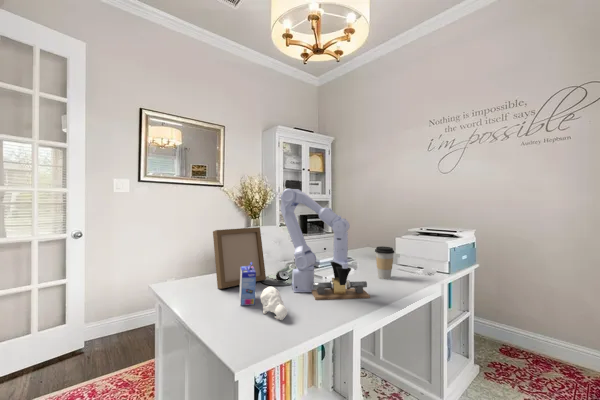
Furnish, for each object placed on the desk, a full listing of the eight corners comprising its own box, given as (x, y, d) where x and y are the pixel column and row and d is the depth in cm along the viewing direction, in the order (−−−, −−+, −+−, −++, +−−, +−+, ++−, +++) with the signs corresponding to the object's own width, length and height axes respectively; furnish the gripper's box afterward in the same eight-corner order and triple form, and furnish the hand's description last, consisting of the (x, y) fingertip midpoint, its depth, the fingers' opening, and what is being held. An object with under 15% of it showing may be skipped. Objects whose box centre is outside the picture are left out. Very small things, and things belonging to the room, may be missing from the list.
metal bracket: (285, 262, 144) (306, 267, 134) (287, 272, 146) (308, 278, 136) (265, 275, 134) (287, 281, 124) (267, 285, 135) (289, 293, 125)
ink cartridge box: (256, 305, 100) (256, 265, 100) (240, 306, 99) (241, 266, 99) (253, 295, 110) (253, 259, 110) (239, 297, 108) (239, 260, 108)
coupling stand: (315, 299, 106) (315, 284, 106) (311, 292, 115) (311, 278, 115) (370, 297, 109) (370, 283, 109) (361, 290, 118) (362, 276, 118)
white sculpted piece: (275, 283, 98) (293, 296, 88) (274, 306, 99) (292, 322, 89) (259, 286, 94) (276, 300, 85) (258, 310, 95) (275, 327, 85)
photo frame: (266, 281, 129) (266, 228, 129) (221, 290, 115) (221, 231, 115) (250, 274, 140) (250, 225, 140) (208, 282, 126) (208, 228, 126)
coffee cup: (396, 277, 139) (396, 247, 139) (391, 281, 131) (391, 250, 131) (377, 274, 144) (377, 245, 144) (371, 278, 136) (372, 248, 136)
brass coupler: (343, 290, 114) (343, 277, 114) (345, 293, 110) (345, 280, 110) (331, 291, 113) (331, 277, 113) (333, 294, 110) (334, 280, 110)
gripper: (355, 252, 105) (355, 287, 105) (344, 245, 120) (344, 276, 120) (338, 252, 104) (337, 287, 104) (329, 245, 119) (328, 276, 119)
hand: (339, 281), depth 112 cm, fingers open, 7 cm apart
